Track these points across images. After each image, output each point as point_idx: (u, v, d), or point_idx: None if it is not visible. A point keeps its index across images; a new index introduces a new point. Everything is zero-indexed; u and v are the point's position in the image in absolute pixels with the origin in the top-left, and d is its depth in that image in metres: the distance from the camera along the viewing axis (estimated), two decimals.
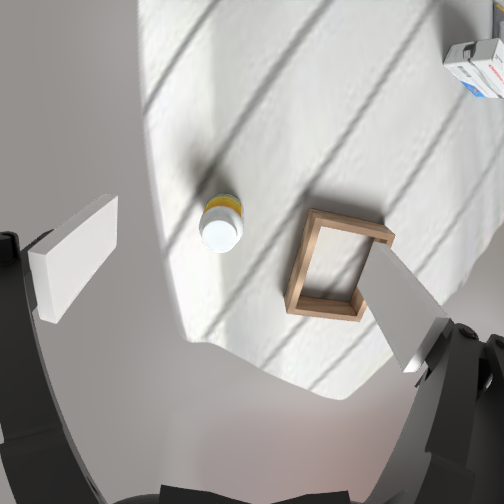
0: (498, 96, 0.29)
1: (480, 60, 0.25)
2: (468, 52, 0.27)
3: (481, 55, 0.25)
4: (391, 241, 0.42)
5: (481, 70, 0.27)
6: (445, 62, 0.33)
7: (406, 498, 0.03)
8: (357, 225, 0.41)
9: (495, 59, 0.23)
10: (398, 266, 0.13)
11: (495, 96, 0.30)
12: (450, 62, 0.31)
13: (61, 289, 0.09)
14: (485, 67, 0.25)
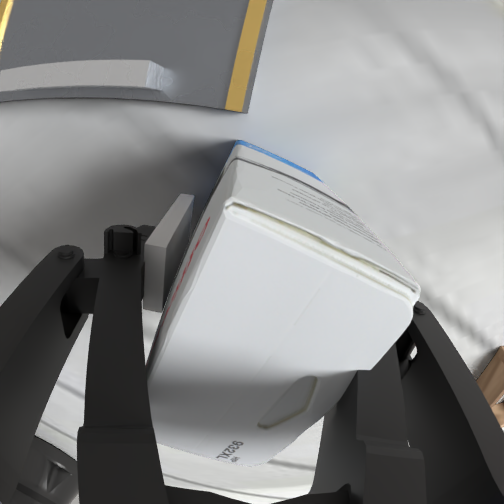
0: None
1: None
2: None
3: None
4: None
5: None
6: None
7: (352, 495, 0.04)
8: None
9: (244, 459, 0.09)
10: None
11: None
12: None
13: (167, 280, 0.11)
14: None
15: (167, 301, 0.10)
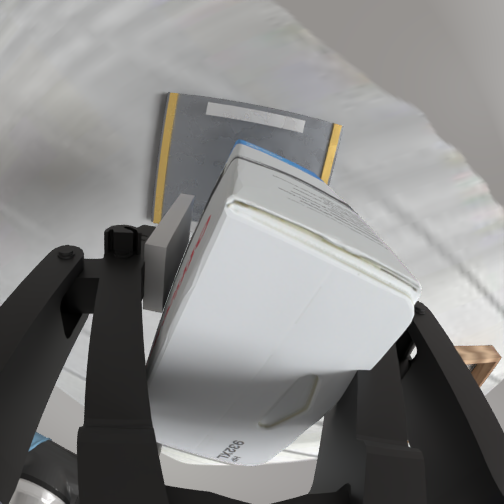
0: None
1: None
2: None
3: None
4: None
5: None
6: None
7: (352, 495, 0.04)
8: None
9: (244, 459, 0.08)
10: None
11: None
12: None
13: (167, 280, 0.11)
14: None
15: (167, 300, 0.10)
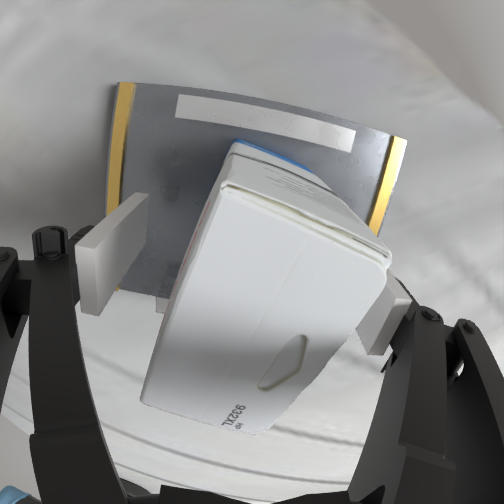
0: None
1: None
2: None
3: None
4: None
5: None
6: None
7: (385, 495, 0.04)
8: None
9: (247, 426, 0.10)
10: None
11: None
12: None
13: (104, 282, 0.10)
14: None
15: (175, 281, 0.11)
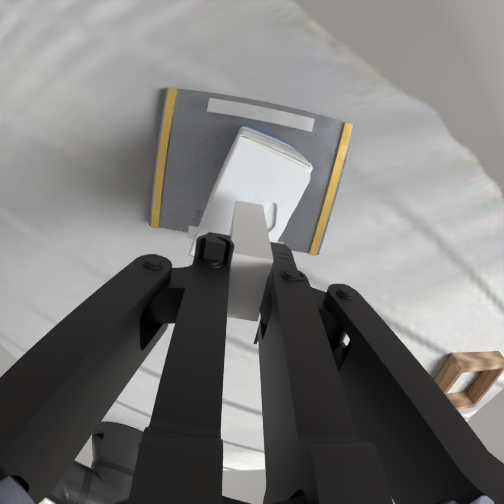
0: None
1: None
2: None
3: None
4: (464, 369, 0.39)
5: None
6: None
7: (308, 503, 0.03)
8: None
9: None
10: (254, 219, 0.14)
11: None
12: None
13: None
14: None
15: None
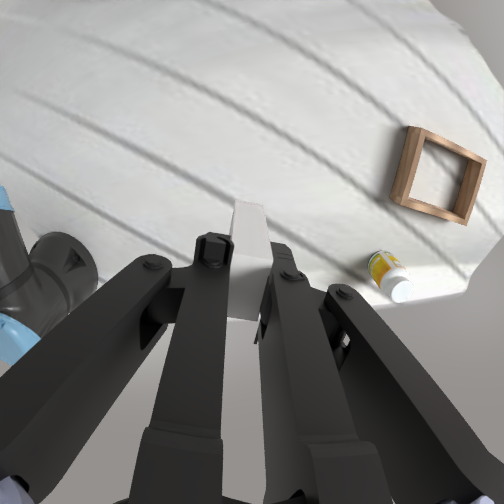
0: None
1: None
2: None
3: None
4: (426, 132, 0.38)
5: None
6: None
7: (308, 503, 0.03)
8: (410, 165, 0.41)
9: None
10: (254, 219, 0.14)
11: None
12: None
13: None
14: None
15: None
